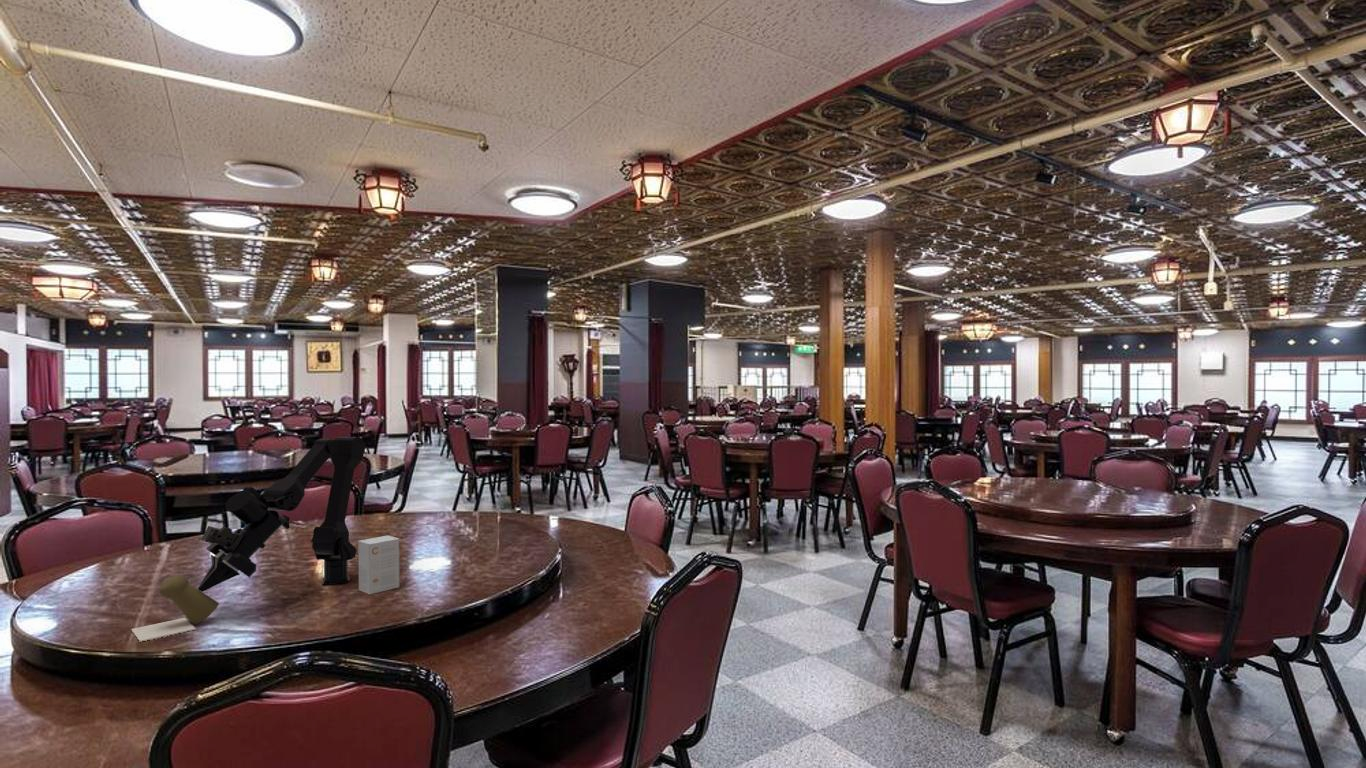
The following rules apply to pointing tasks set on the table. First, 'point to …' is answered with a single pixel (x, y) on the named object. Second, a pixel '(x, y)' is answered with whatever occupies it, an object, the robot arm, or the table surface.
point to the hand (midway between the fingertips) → (199, 590)
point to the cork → (188, 599)
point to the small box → (378, 564)
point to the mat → (162, 629)
